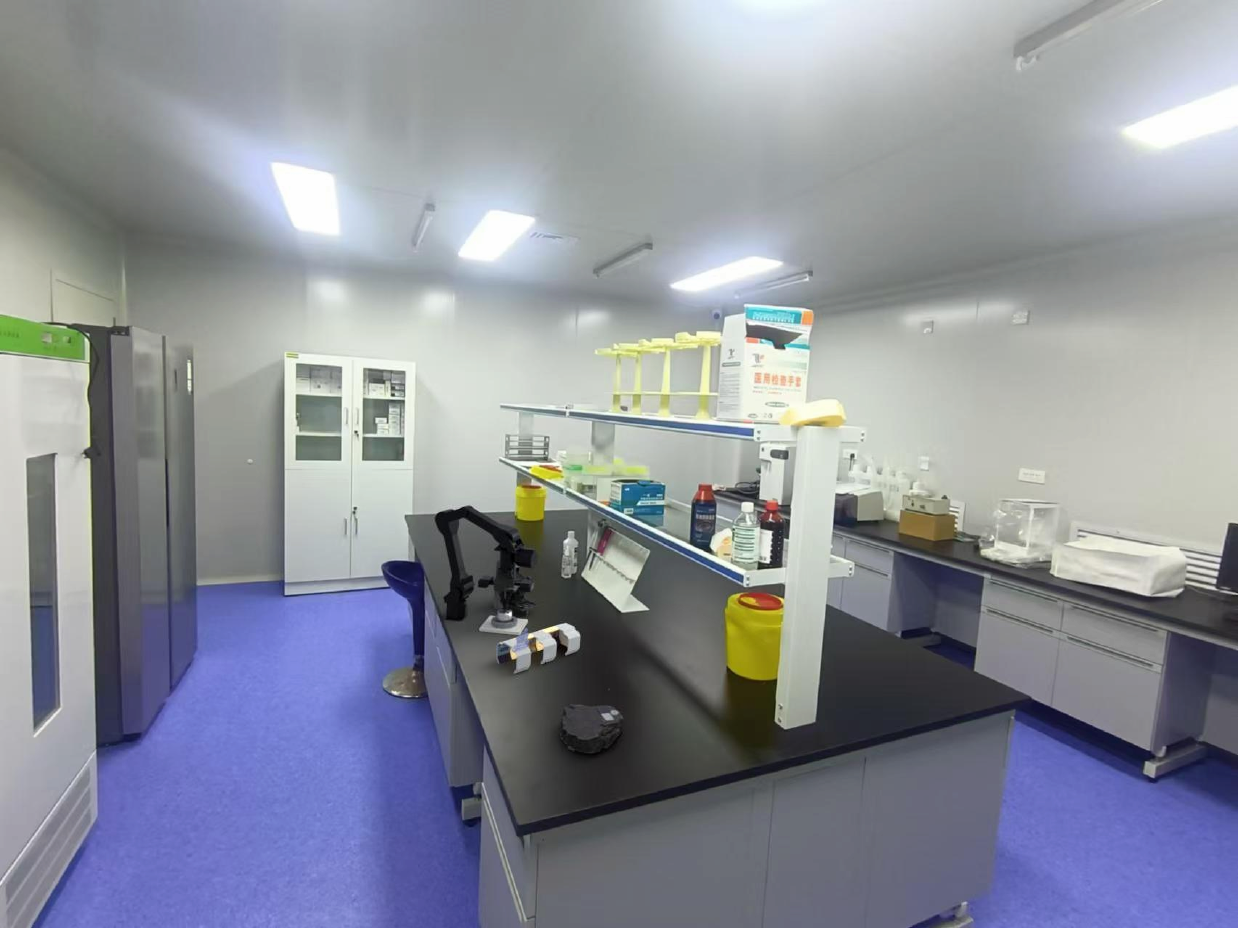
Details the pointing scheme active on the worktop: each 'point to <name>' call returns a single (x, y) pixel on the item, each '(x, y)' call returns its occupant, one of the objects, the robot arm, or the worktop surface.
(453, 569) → the robot arm
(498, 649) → the diorama
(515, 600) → the vintage camera
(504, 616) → the metal cylinder
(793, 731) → the worktop surface
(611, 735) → the rock sample
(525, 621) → the barrel plate
